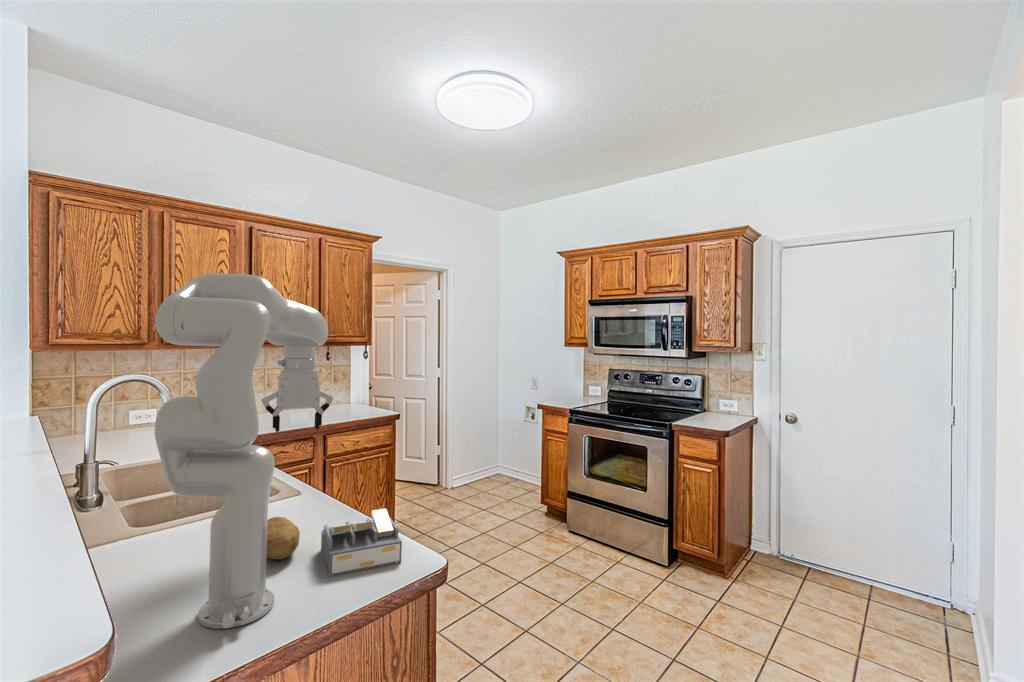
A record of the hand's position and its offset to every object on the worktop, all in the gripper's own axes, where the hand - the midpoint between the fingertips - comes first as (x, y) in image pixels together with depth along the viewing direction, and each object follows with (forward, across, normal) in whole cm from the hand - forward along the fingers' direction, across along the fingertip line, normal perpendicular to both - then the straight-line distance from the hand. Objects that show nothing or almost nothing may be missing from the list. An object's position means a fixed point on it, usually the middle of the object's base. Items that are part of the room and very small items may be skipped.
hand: (297, 429), depth 127 cm
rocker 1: (+20, +7, -20) cm, 30 cm away
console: (+28, +12, -20) cm, 37 cm away
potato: (+28, -5, -12) cm, 31 cm away
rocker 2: (+20, +12, -20) cm, 31 cm away
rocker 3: (+20, +17, -21) cm, 34 cm away
